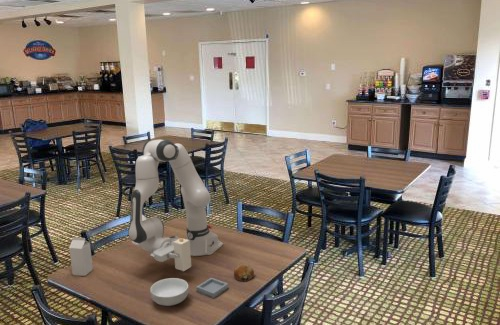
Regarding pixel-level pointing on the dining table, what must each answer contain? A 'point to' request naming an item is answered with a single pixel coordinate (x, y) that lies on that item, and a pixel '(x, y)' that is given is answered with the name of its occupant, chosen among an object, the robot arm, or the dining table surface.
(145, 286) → the dining table surface
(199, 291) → the tray
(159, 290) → the cereal bowl
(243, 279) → the bread roll
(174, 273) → the dining table surface
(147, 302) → the dining table surface
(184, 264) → the juice box
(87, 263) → the milk carton
